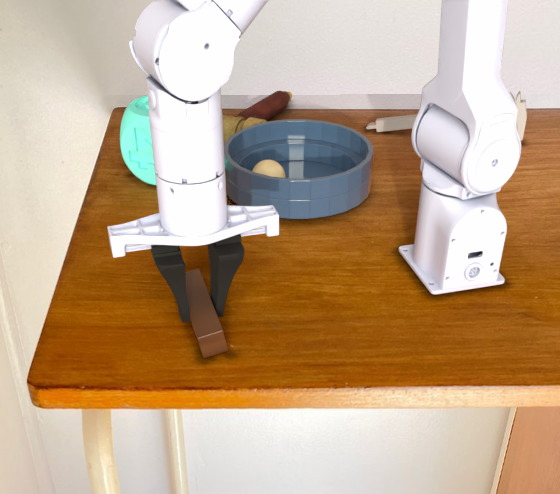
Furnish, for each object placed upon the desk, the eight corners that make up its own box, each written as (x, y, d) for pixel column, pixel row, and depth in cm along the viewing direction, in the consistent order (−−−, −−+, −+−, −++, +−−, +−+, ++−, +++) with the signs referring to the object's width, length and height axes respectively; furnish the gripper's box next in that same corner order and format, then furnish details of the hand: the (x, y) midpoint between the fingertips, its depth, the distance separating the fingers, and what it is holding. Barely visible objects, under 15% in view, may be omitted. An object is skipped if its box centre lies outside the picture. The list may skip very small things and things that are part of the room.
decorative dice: (185, 190, 101) (179, 121, 95) (124, 181, 102) (115, 113, 97) (209, 163, 106) (205, 96, 100) (151, 155, 108) (144, 89, 102)
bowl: (391, 213, 97) (395, 169, 93) (244, 232, 93) (243, 188, 90) (343, 152, 108) (345, 112, 105) (211, 168, 105) (208, 127, 102)
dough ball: (256, 181, 94) (278, 205, 97) (277, 152, 94) (298, 177, 97) (238, 178, 97) (259, 202, 100) (258, 151, 97) (279, 175, 100)
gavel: (258, 71, 120) (323, 82, 117) (258, 105, 123) (321, 117, 120) (182, 112, 106) (254, 125, 103) (184, 149, 109) (254, 163, 106)
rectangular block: (229, 350, 76) (223, 330, 74) (203, 358, 76) (197, 338, 74) (205, 288, 83) (199, 267, 81) (181, 295, 83) (175, 275, 81)
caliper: (521, 141, 111) (531, 91, 106) (521, 144, 110) (531, 94, 106) (367, 128, 114) (370, 78, 110) (365, 131, 113) (369, 81, 109)
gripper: (263, 140, 73) (265, 281, 83) (94, 159, 70) (117, 302, 80) (286, 174, 68) (285, 319, 78) (105, 196, 65) (127, 344, 75)
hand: (201, 313), depth 78 cm, fingers closed on rectangular block, 2 cm apart
